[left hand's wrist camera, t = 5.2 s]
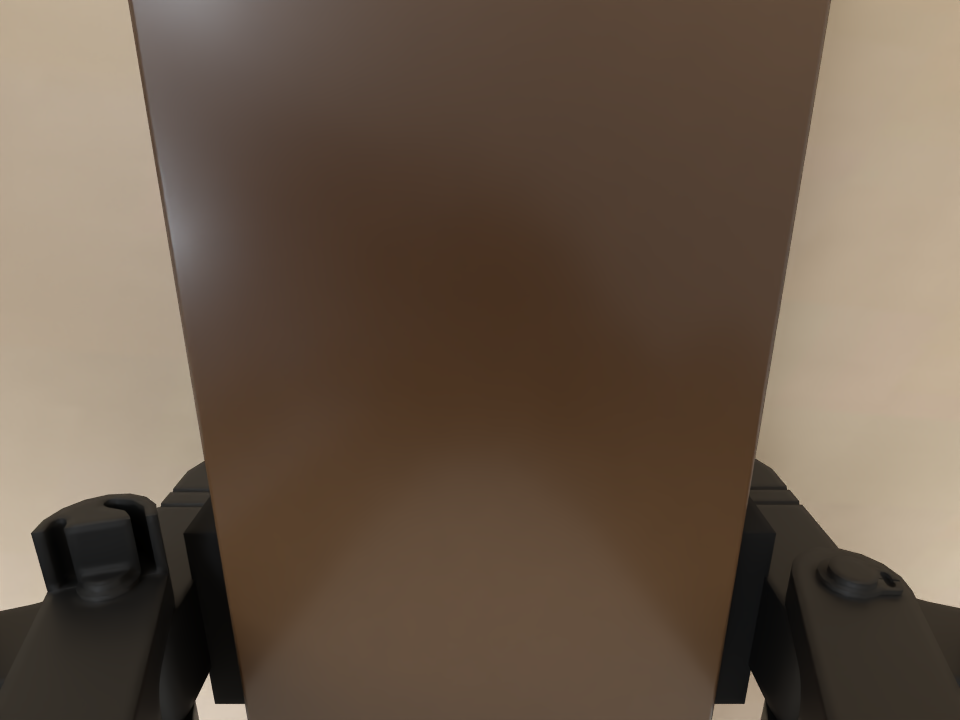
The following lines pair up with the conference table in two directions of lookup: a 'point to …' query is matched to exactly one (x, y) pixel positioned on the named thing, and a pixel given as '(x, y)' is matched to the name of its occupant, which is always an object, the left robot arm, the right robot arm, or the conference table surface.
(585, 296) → the beam
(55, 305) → the conference table surface
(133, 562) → the left robot arm
